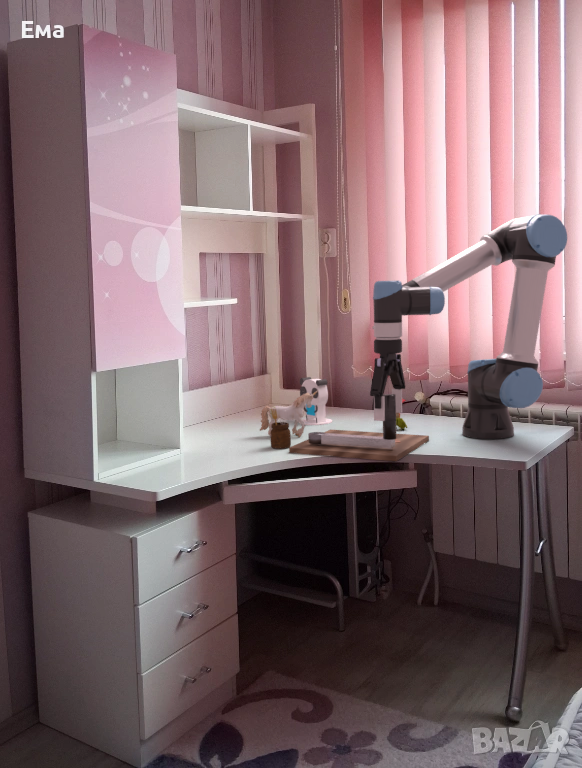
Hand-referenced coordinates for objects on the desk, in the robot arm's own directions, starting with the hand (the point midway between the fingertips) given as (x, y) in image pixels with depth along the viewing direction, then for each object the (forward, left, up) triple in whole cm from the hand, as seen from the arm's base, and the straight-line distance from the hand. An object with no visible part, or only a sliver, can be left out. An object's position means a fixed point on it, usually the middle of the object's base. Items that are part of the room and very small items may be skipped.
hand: (388, 416), depth 217 cm
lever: (+11, 0, -9) cm, 14 cm away
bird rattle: (+12, -37, -11) cm, 41 cm away
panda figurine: (+42, -40, -11) cm, 59 cm away
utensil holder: (+34, 0, -11) cm, 36 cm away
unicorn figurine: (+40, -18, -11) cm, 45 cm away
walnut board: (+12, -8, -11) cm, 18 cm away
